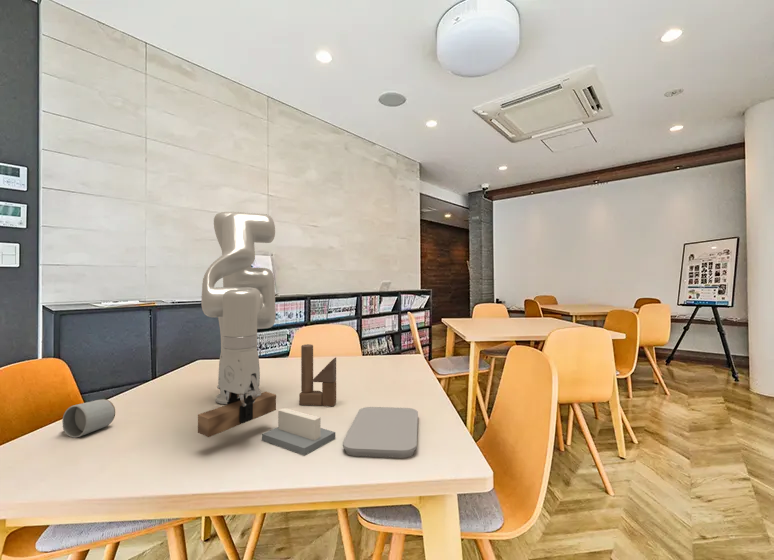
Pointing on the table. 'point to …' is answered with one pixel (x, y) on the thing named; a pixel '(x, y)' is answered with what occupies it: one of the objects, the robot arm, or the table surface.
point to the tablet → (383, 432)
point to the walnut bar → (233, 415)
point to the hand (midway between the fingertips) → (239, 417)
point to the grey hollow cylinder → (87, 417)
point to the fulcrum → (298, 432)
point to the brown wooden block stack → (325, 376)
